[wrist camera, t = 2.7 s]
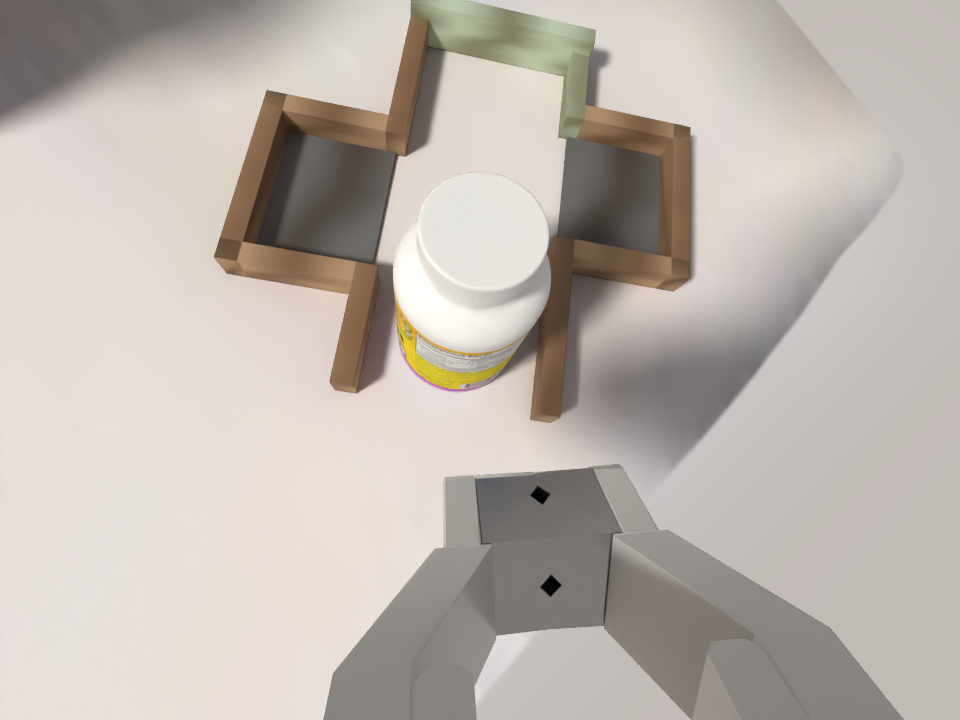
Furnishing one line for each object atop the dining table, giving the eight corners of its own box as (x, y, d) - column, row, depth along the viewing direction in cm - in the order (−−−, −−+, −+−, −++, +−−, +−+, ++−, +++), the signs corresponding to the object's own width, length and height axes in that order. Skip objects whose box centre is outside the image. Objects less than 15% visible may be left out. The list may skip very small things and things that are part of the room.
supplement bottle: (422, 273, 30) (430, 119, 18) (523, 311, 31) (599, 184, 18) (380, 372, 28) (357, 273, 16) (488, 412, 29) (547, 345, 16)
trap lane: (197, 369, 27) (172, 353, 24) (308, 6, 35) (299, -39, 32) (670, 441, 30) (698, 434, 27) (676, 88, 37) (698, 53, 34)
